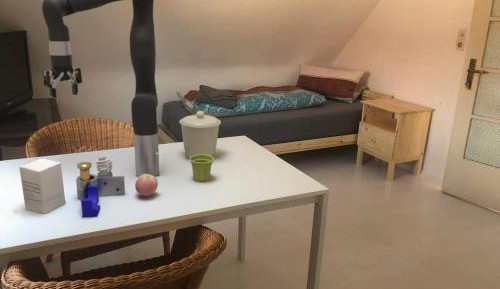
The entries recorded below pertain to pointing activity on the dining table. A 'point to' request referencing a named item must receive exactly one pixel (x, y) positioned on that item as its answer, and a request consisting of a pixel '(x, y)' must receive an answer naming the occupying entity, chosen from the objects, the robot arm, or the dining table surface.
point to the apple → (146, 184)
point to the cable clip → (91, 203)
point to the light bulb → (104, 166)
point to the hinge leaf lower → (83, 192)
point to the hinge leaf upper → (104, 184)
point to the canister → (200, 134)
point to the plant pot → (201, 166)
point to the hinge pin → (84, 170)
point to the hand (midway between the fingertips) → (64, 96)
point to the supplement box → (42, 185)
